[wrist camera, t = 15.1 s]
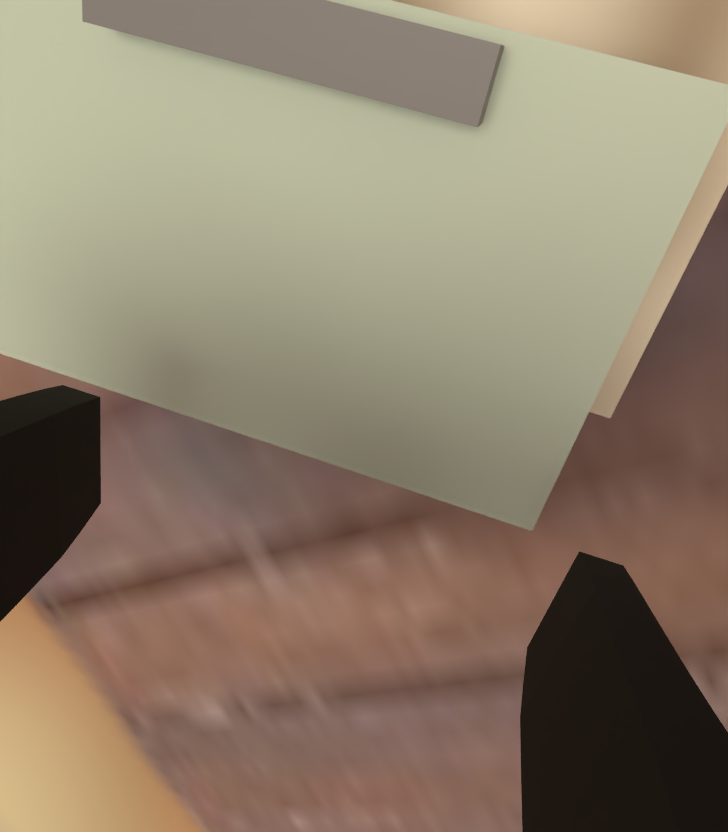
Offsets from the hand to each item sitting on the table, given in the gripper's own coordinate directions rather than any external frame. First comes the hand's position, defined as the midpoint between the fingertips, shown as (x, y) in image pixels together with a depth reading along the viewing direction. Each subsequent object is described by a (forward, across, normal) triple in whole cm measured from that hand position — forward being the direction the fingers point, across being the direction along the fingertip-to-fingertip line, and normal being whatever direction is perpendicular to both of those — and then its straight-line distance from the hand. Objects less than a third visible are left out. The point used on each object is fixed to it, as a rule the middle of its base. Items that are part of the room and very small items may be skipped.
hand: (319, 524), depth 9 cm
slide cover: (+8, +2, -3) cm, 9 cm away
